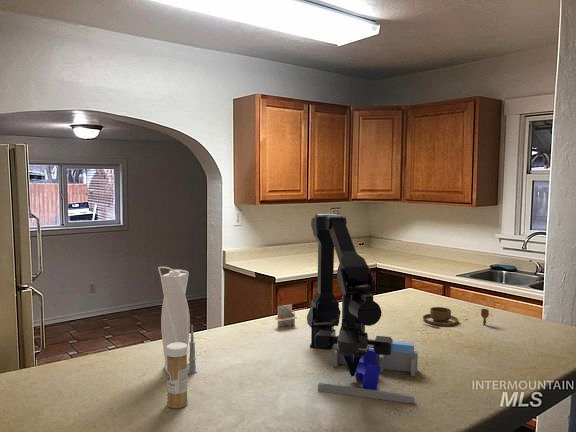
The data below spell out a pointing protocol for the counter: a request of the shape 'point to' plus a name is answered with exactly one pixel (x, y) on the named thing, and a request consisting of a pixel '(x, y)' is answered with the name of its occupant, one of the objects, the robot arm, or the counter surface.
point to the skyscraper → (176, 314)
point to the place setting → (447, 317)
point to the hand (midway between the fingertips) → (352, 375)
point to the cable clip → (368, 370)
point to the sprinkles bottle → (177, 374)
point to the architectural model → (285, 315)
